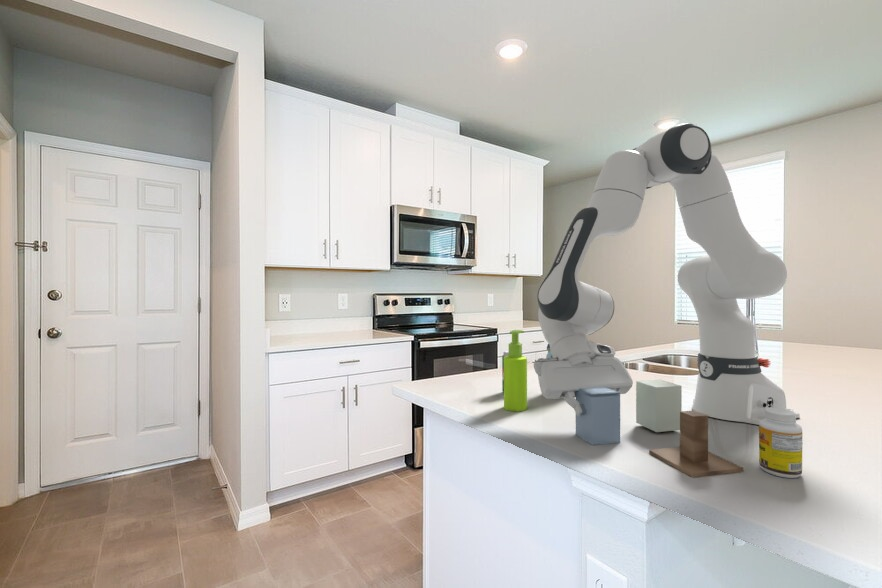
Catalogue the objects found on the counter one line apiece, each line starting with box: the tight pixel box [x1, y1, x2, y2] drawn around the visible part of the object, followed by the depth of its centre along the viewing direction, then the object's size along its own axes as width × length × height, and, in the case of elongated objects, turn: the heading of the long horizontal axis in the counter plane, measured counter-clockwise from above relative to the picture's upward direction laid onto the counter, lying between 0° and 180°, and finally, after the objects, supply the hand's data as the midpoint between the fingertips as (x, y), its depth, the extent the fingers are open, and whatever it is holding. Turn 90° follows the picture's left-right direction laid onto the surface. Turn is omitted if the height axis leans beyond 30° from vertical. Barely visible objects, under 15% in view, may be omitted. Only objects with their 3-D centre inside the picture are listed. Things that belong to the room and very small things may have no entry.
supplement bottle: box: [758, 408, 803, 479], centre depth 68 cm, size 6×6×10 cm
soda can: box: [501, 351, 509, 394], centre depth 120 cm, size 5×5×12 cm
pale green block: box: [635, 379, 683, 433], centre depth 89 cm, size 6×6×10 cm
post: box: [648, 409, 744, 478], centre depth 72 cm, size 10×10×9 cm
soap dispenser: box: [503, 329, 528, 412], centre depth 106 cm, size 6×7×20 cm
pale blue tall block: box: [575, 387, 621, 446], centre depth 84 cm, size 6×6×10 cm
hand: (599, 412), depth 83 cm, fingers closed on pale blue tall block, 6 cm apart
